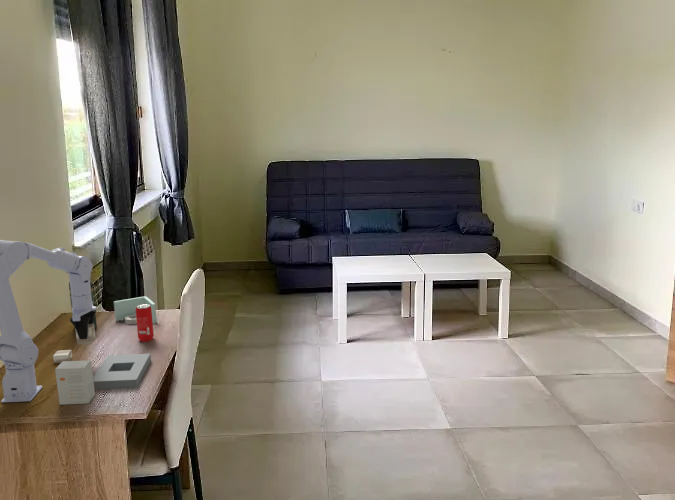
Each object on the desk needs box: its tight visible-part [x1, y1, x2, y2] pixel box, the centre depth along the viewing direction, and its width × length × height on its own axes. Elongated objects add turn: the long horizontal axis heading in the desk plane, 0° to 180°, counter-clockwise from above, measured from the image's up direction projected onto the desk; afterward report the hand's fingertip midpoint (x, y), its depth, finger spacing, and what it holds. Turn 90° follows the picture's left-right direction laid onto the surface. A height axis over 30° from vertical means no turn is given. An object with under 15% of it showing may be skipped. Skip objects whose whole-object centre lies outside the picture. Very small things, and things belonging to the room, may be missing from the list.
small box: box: [54, 359, 96, 406], centre depth 182 cm, size 8×6×10 cm
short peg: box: [52, 349, 73, 364], centre depth 212 cm, size 4×4×2 cm
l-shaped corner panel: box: [113, 296, 158, 325], centre depth 247 cm, size 12×12×8 cm
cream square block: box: [74, 324, 96, 346], centre depth 207 cm, size 4×4×5 cm
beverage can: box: [136, 304, 155, 343], centre depth 227 cm, size 5×5×12 cm
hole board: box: [93, 353, 152, 391], centre depth 199 cm, size 20×13×2 cm, turn 4°
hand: (85, 336), depth 207 cm, fingers closed on cream square block, 4 cm apart
